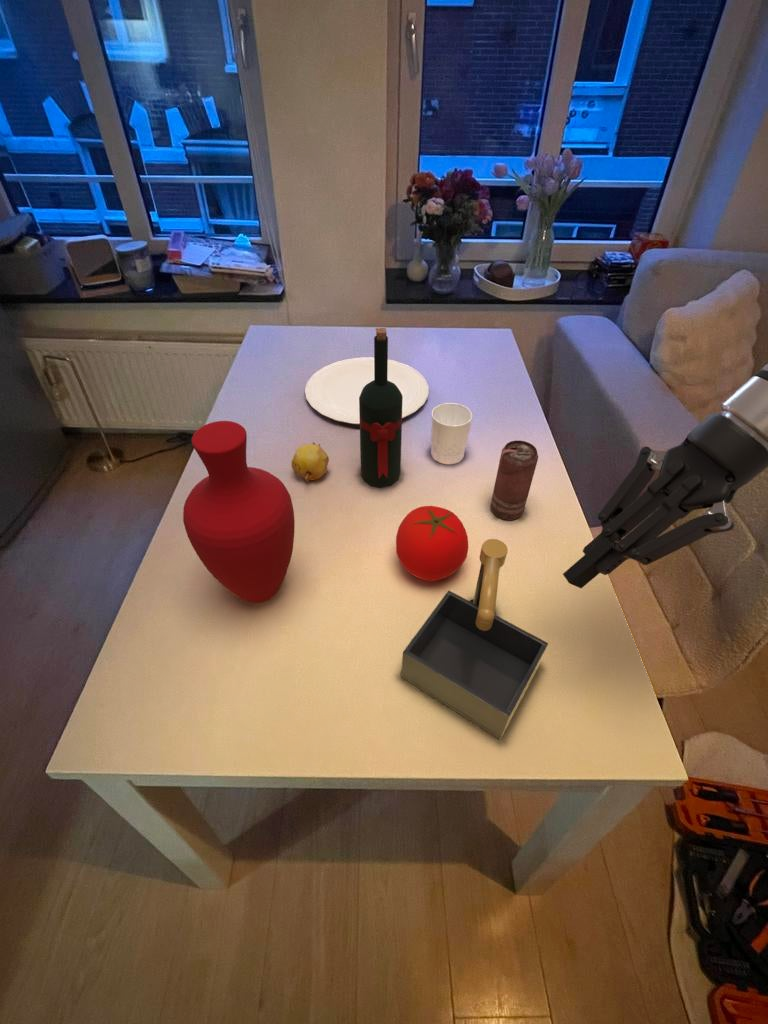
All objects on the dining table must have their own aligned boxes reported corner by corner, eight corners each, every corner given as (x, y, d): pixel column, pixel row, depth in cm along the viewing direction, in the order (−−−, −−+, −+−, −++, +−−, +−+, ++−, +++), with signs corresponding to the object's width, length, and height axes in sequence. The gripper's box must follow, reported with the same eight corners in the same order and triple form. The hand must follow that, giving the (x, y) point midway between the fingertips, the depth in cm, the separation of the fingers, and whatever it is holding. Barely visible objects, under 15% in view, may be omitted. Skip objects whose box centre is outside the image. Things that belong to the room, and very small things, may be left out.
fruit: (324, 470, 96) (336, 437, 103) (287, 460, 95) (301, 427, 102) (318, 495, 101) (329, 462, 108) (283, 485, 100) (297, 452, 107)
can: (483, 502, 99) (494, 442, 89) (513, 495, 100) (528, 436, 90) (497, 524, 95) (511, 464, 85) (529, 517, 96) (546, 457, 86)
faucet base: (486, 633, 78) (500, 580, 69) (457, 618, 80) (467, 564, 71) (500, 611, 81) (515, 557, 72) (472, 597, 83) (483, 542, 74)
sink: (500, 740, 67) (509, 717, 63) (401, 677, 73) (402, 652, 69) (537, 668, 74) (548, 642, 70) (444, 616, 81) (448, 590, 76)
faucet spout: (480, 552, 74) (483, 536, 71) (504, 556, 73) (508, 541, 71) (469, 628, 65) (472, 613, 62) (496, 633, 64) (501, 618, 62)
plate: (344, 353, 139) (344, 346, 137) (447, 380, 129) (447, 373, 128) (281, 409, 120) (279, 402, 119) (395, 444, 111) (395, 437, 110)
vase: (192, 605, 82) (127, 453, 61) (247, 541, 91) (207, 391, 70) (272, 640, 77) (233, 489, 56) (321, 568, 87) (303, 417, 66)
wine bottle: (362, 496, 99) (357, 350, 78) (360, 462, 107) (355, 320, 86) (403, 494, 100) (410, 348, 79) (398, 460, 107) (403, 318, 86)
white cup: (431, 467, 106) (435, 426, 99) (425, 443, 111) (428, 403, 104) (469, 465, 106) (476, 424, 99) (462, 442, 112) (467, 401, 105)
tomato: (469, 591, 84) (477, 548, 77) (396, 592, 84) (397, 548, 76) (460, 536, 92) (467, 492, 85) (394, 536, 92) (395, 493, 85)
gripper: (809, 486, 51) (619, 631, 60) (712, 415, 60) (560, 551, 70) (788, 457, 47) (586, 619, 56) (686, 386, 56) (527, 535, 65)
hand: (572, 581), depth 63 cm, fingers closed
